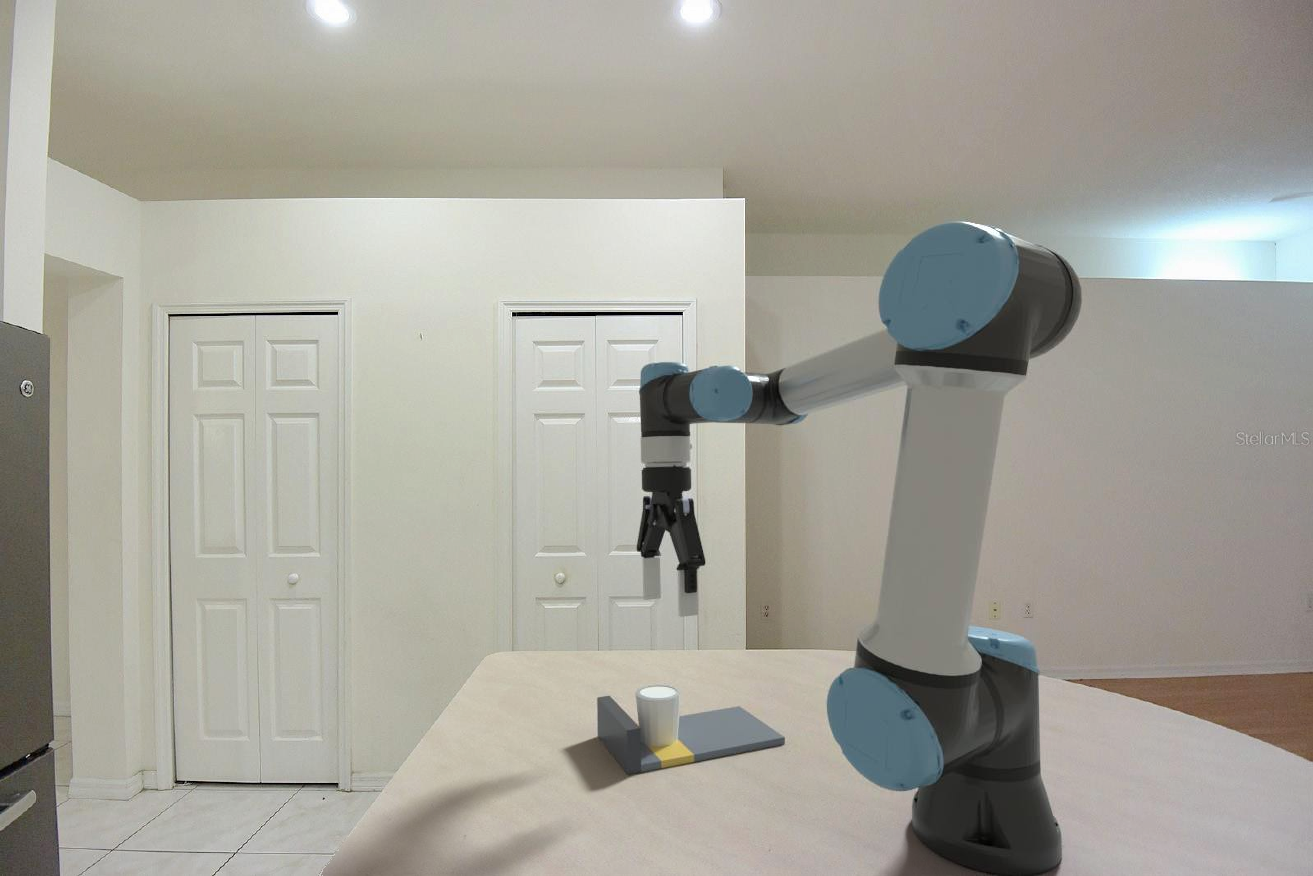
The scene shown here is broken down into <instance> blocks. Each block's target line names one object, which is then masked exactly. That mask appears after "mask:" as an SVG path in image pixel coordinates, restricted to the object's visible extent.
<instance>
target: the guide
mask: <svg viewBox="0 0 1313 876" xmlns="http://www.w3.org/2000/svg"><path fill="white" fill-rule="evenodd" d="M596 701H597V705H596V706H597V711H596V712H597V738H598V739H599V740H600V741H601V743H602V744H603V745H604V747H605V748H606V749H607V751H609V753H610V755H611V756H612V757H613V758H614V760H615V761H616V762H617V763H618V765H619V766H620V767H621V768H622V770H623V771H624V773H625V774H626V775H633V774H640V773H644V772H649V771H654V770H659V769H666V768H671V767H674V766H680V765H683V764H684V765H685V764H690V763H694V762H700V761H704V760H710V759H715V758H720V757H721V758H722V757H726V756H730V755H735V754H741V753H747V752H750V751H755V750H761V749H766V748H771V747H776V746H777V747H778V746H782V745H785V744H786V741H785V740H786V737H785V736H784V735H783V734H781V733H780V732H778V731H776V730H775V729H774V728H772V727H770V726H769V725H768V724H766V723H765V722H763V721H762V720H761V719H759V718H757V717H756V716H755V715H753V714H751V713H750V712H749V711H747V710H746V709H745V708H743V707H741V706H740V705H738V706H733V707H726V708H721V709H714V710H709V711H703V712H695V713H690V714H686V715H679V727H678V739H677V741H676V742H675V743H673V744H671V745H668V746H660V747H657V746H649V745H646V744H644V743H642V742H641V728H640V727H639V723H638V722H636V721H635V720H634V719H632V717H631V716H630V715H629V714H628V713H627V712H626V711H625V710H624V709H623V708H622V707H621V706H620V705H619V704H618V703H617V701H615V700H614V698H612V696H611V695H603V696H598V697H597V699H596Z"/></svg>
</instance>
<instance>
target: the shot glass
mask: <svg viewBox="0 0 1313 876" xmlns="http://www.w3.org/2000/svg"><path fill="white" fill-rule="evenodd" d="M681 696H682V691H681V690H680V689H679V688H678V687H675V686H673V685H668V684H667V685H666V684H665V685H664V684H654V685H653V684H652V685H646V686H642V687H640V688H638V689H637V690H636V691H635V701H636V711H637V719H638V720H637V721H638V722H637V723H639V727H640V728H641V742H642V743H644V744H646V745H649V746H657V747H660V746H668V745H671V744H673V743H675V742H676V741H677V739H678V727H679V716H680V712H681V711H680V710H681V699H682V698H681Z"/></svg>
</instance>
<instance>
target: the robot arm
mask: <svg viewBox="0 0 1313 876" xmlns="http://www.w3.org/2000/svg"><path fill="white" fill-rule="evenodd" d="M1079 280H1080V279H1079V277H1078V275H1077V272H1075V269H1074V268H1073V267H1072V265H1071V264H1070V263H1069V262H1068V260H1067V259H1065V258H1064V256H1063V257H1062V255H1060V254H1059V253H1057V252H1056V251H1054V250H1052V249H1050V248H1049V247H1044V246H1043V245H1038V244H1034V243H1032V242H1028V241H1026V240H1023V239H1020V238H1018V237H1016V236H1013V235H1010V234H1007V233H1006V232H1004V231H1003V230H1002V229H1000V228H999V227H996V226H992V225H989V224H975V223H973V222H967V221H949V222H944V223H940V224H937V225H934V226H931V227H929V228H927V229H925V230H924V231H921V232H920V233H918V234H916V235H915V236H914V237H912V238H911V239H910V241H909V242H908V243H907V244H906V245H905V246H904V247H903V248H901V249H900V250H898V252H897V253H896V254H895V255H894V257H893V258H892V260H891V262H890V263H889V264H888V266H887V268H886V270H885V272H884V275H883V276H882V281H881V283H880V287H879V292H878V313H879V316H880V320H881V323H882V324H883V325H884V326H885V327H886V328H884V329H881V330H878V331H876V332H874V333H871V334H867V335H865V336H863V337H861V338H858V339H855V340H852V341H850V342H847V343H845V344H842V345H839V346H837V347H835V348H833V349H829V350H827V351H823V352H822V353H819V354H816V355H814V356H812V357H808V358H806V359H804V360H800V361H799V362H796V363H793V364H791V365H788V366H786V367H784V368H781V369H777V370H776V371H773V372H770V373H762V372H761V373H760V372H759V373H758V372H747V371H746V372H745V371H742V370H741V369H740V368H738V367H737V366H734V365H721V366H720V365H719V366H718V365H712V366H709V367H706V368H702V369H699V370H698V369H697V370H693V371H689V367H688V365H686V364H685V363H682V362H677V361H675V362H674V361H660V362H651V363H648V364H645V365H644V366H643V367H641V370H640V383H639V386H640V387H639V391H638V393H639V406H640V407H639V409H640V410H639V414H640V415H639V416H640V435H641V436H640V462H641V463H642V464H644V467H643V468H642V469H641V490H642V491H643V492H646V493H651V495H645V496H642V497H643V498H642V512H641V519H640V525H639V529H638V531H639V532H638V536H637V542H636V551H637V552H638V553H640V556H641V558H642V594H643V595H642V596H643V597H642V599H643V600H645V601H647V600H648V601H650V600H656V599H657V600H658V599H662V597H661V594H662V591H661V589H662V588H661V556H662V554H661V552H660V547H661V545H662V542H663V539H664V534H665V533H666V532H668V534H669V536H670V539H671V541H672V542H671V543H672V546H673V548H674V552H675V554H676V557H677V559H678V562H679V563H678V565H677V567H676V568H675V569H676V570H677V596H678V597H677V598H678V599H677V603H678V607H677V608H678V616H679V617H680V618H684V617H690V616H691V617H693V616H698V615H699V594H698V593H699V591H698V589H699V588H698V584H699V583H698V569H700V568H701V567H703V566H705V565H706V563H707V562H706V556H705V553H704V549H703V544H702V540H701V535H700V532H699V528H698V523H697V519H696V515H695V503H694V499H693V498H684V497H683V492H689V491H690V490H691V489H692V469H691V468H690V466H687V463H688V464H689V463H690V462H691V450H692V448H693V444H692V443H691V431H690V430H691V429H690V428H691V425H692V424H693V425H694V424H695V425H696V424H703V423H705V424H708V423H711V424H712V423H716V424H717V423H720V424H755V425H757V424H759V425H760V424H761V425H775V426H779V427H780V426H788V425H795V424H799V423H801V422H803V421H804V419H805V418H806V417H808V416H809V415H810V414H812V413H816V412H819V411H821V410H822V411H823V410H826V409H829V408H832V407H837V406H839V405H842V404H845V403H849V402H852V401H856V400H859V399H863V398H865V397H869V396H874V395H876V394H879V393H884V392H886V391H889V390H893V389H896V388H899V387H903V386H906V388H907V389H906V396H905V404H904V410H903V411H904V412H903V419H902V425H901V426H902V427H901V434H900V441H899V448H898V456H897V461H896V462H897V464H896V470H895V476H894V477H895V478H894V486H893V492H892V499H891V507H890V508H891V509H890V515H889V522H888V529H887V536H886V537H887V538H886V544H885V545H886V546H885V553H884V560H883V566H882V567H883V568H882V575H881V581H880V589H879V597H878V604H877V612H876V618H875V619H874V620H872V621H870V622H868V623H867V624H865V625H864V626H862V627H861V628H860V630H859V632H858V635H857V642H856V649H855V650H856V651H855V658H854V663H853V664H854V665H853V667H848V668H846V669H845V670H844V671H842V672H841V673H840V674H839V675H838V676H836V678H834V680H833V681H832V683H831V684H830V686H829V689H828V693H827V697H826V715H827V720H828V725H829V727H830V730H831V733H832V735H833V738H834V740H835V742H836V743H837V744H838V745H839V747H840V749H841V752H842V755H844V757H845V760H847V762H849V763H850V765H851V766H852V767H853V768H854V769H855V770H856V771H857V772H858V774H860V775H861V776H863V778H865V779H866V780H868V781H869V782H870V783H873V784H874V785H876V786H878V787H880V788H882V789H885V790H888V791H892V792H893V791H894V792H909V791H912V790H915V789H917V791H916V792H915V793H914V795H913V798H912V803H911V821H912V822H911V823H912V828H913V830H914V833H915V834H916V836H917V837H918V839H919V840H920V841H921V842H922V843H923V844H924V845H926V846H927V847H928V848H929V849H931V850H932V851H933V852H935V853H937V854H938V855H940V856H942V857H943V858H946V859H947V860H949V861H951V862H954V863H956V864H959V865H962V866H964V867H967V868H970V869H974V870H977V871H982V872H985V873H991V874H995V875H996V874H997V875H1004V876H1031V875H1038V874H1041V873H1044V872H1048V871H1050V870H1051V869H1054V868H1056V866H1057V865H1058V864H1059V863H1060V862H1061V860H1062V857H1063V841H1062V830H1061V826H1060V824H1059V822H1058V820H1057V818H1056V817H1055V815H1054V814H1053V809H1052V807H1051V803H1050V799H1049V796H1048V794H1047V790H1046V788H1045V784H1044V781H1043V777H1042V773H1041V771H1042V770H1041V769H1042V768H1041V767H1042V766H1041V738H1040V737H1041V736H1040V735H1041V734H1040V733H1041V730H1040V694H1039V693H1040V692H1039V691H1040V689H1039V685H1040V683H1039V676H1040V675H1041V673H1040V669H1039V667H1038V661H1037V659H1038V658H1037V651H1036V650H1037V649H1036V648H1035V645H1034V644H1033V643H1032V642H1031V641H1030V640H1029V639H1027V638H1026V637H1024V636H1021V635H1019V634H1017V633H1012V632H1008V631H1003V630H998V629H993V628H988V627H981V626H976V625H975V626H974V625H970V624H971V617H972V611H973V606H974V605H973V604H974V599H975V597H974V596H975V591H976V585H977V579H978V574H979V573H978V571H979V566H980V559H981V551H982V545H983V539H984V532H985V528H986V527H985V525H986V520H987V512H988V508H989V507H988V506H989V501H990V493H991V487H992V480H993V476H994V475H993V474H994V467H995V462H996V454H997V448H998V443H999V442H998V441H999V435H1000V429H1001V428H1000V427H1001V422H1002V415H1003V410H1004V404H1005V397H1006V395H1008V394H1009V392H1010V391H1012V390H1014V388H1016V387H1018V386H1019V385H1020V384H1022V383H1023V382H1024V381H1025V380H1026V379H1027V375H1028V374H1027V373H1028V367H1029V362H1030V361H1029V360H1032V359H1035V358H1038V357H1040V356H1042V355H1044V354H1047V353H1048V352H1050V351H1051V350H1053V349H1054V348H1055V347H1057V346H1058V345H1059V344H1060V343H1062V342H1063V341H1064V340H1065V339H1066V337H1068V335H1070V333H1071V331H1073V329H1074V326H1075V324H1076V323H1077V321H1078V318H1079V316H1080V312H1081V309H1082V302H1083V299H1082V296H1083V295H1082V286H1081V284H1080V283H1081V282H1080V281H1079Z"/></svg>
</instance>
